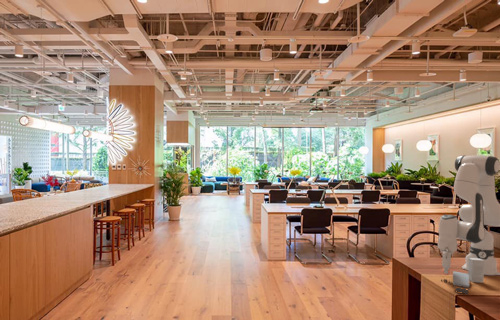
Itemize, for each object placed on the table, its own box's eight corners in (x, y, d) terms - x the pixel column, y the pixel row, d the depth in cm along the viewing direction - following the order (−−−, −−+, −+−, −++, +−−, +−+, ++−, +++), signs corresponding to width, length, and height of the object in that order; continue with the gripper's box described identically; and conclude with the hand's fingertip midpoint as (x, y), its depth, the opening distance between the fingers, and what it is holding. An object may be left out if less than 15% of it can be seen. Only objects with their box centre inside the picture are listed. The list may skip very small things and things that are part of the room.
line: (453, 286, 176) (453, 286, 176) (469, 289, 173) (469, 289, 173) (453, 286, 176) (453, 286, 176) (469, 290, 172) (469, 289, 172)
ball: (442, 273, 187) (442, 266, 187) (449, 274, 185) (450, 267, 185) (441, 275, 184) (442, 268, 184) (449, 276, 182) (450, 269, 182)
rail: (455, 291, 169) (455, 287, 169) (467, 294, 167) (468, 289, 167) (455, 292, 168) (455, 288, 168) (467, 294, 166) (468, 290, 166)
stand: (441, 279, 187) (441, 278, 187) (449, 281, 185) (449, 280, 185) (440, 281, 183) (441, 280, 183) (449, 283, 181) (449, 282, 181)
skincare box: (478, 280, 189) (479, 258, 189) (483, 283, 185) (484, 260, 185) (467, 279, 190) (468, 257, 190) (471, 282, 185) (473, 259, 185)
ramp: (452, 278, 189) (453, 270, 189) (467, 281, 186) (468, 273, 186) (453, 285, 179) (453, 276, 179) (469, 288, 175) (469, 279, 175)
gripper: (454, 251, 174) (452, 278, 174) (454, 242, 192) (452, 267, 192) (439, 249, 177) (438, 276, 177) (440, 241, 195) (439, 265, 195)
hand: (446, 271), depth 185 cm, fingers closed on ball, 4 cm apart
